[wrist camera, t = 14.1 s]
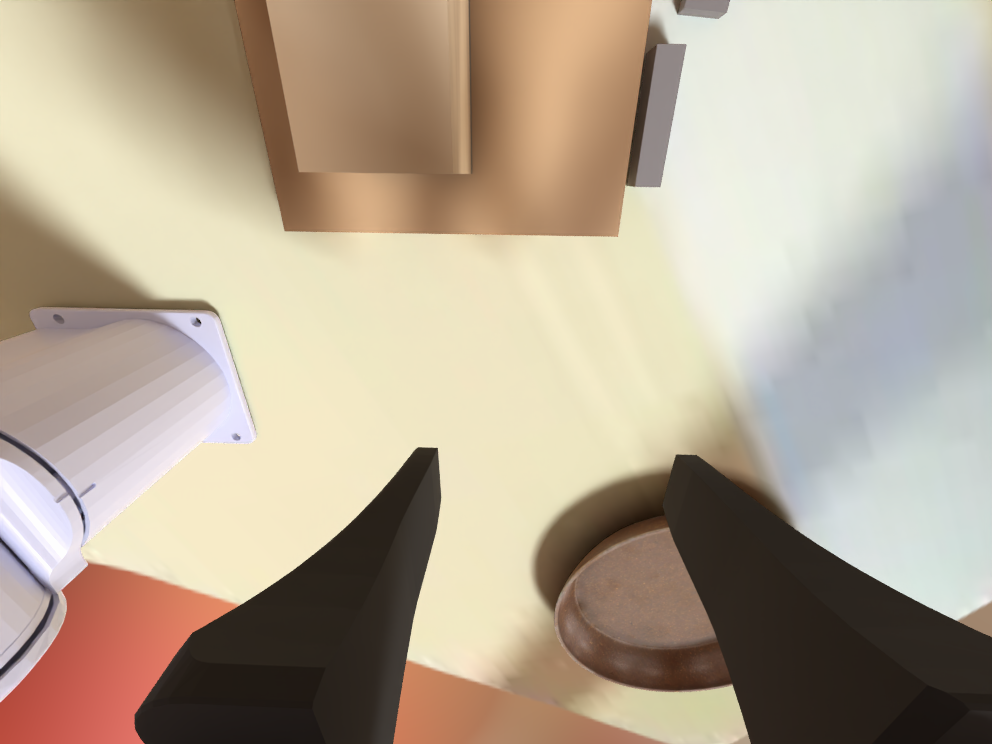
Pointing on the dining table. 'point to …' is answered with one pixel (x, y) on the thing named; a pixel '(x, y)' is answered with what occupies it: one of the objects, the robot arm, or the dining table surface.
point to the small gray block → (655, 114)
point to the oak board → (490, 129)
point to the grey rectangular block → (703, 8)
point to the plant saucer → (639, 615)
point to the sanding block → (376, 84)
